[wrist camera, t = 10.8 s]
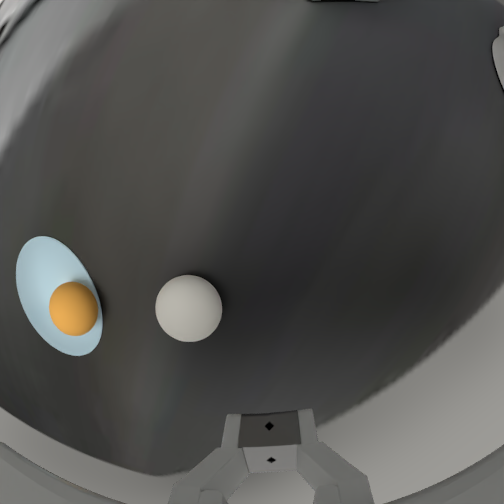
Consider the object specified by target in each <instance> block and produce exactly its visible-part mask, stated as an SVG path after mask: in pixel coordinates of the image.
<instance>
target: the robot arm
mask: <svg viewBox="0 0 504 504" xmlns="http://www.w3.org/2000/svg"><path fill="white" fill-rule="evenodd" d="M492 51H493V58H494V62H495V66H496V70H497V73H498V76H499V78H500V81H501V84H502V86H503V89H504V26H503V27H500V28H499V37H498V38H496V39H495V40H494V42H493V46H492ZM293 470H297V472H298V473H299V474H300V475H301V476H302V477H303V478H304V479H305V481H306V482H307V483H308V484H309V485H310V486H311V487H312V488H313V489H314V490H315V496H314V502H313V504H374V501H373V497H372V493H371V489H370V485H369V482H368V478H367V476H366V475H364V474H363V473H362V472H360V471H359V470H358V469H357V468H355V467H354V466H352V465H351V464H350V463H349V462H347V461H346V460H345V459H343V458H342V457H341V456H340V455H338V454H337V453H336V452H335V451H333V450H332V449H331V448H330V447H328V446H327V445H326V444H325V443H323V442H318V438H317V432H316V426H315V420H314V415H313V410H312V409H304V410H298V411H297V410H294V411H285V412H274V413H261V414H228V415H227V417H226V422H225V428H224V434H223V440H222V445H221V448H216V449H215V450H214V451H213V452H212V453H211V454H209V455H208V456H207V457H206V458H205V459H204V460H203V461H201V462H200V463H199V464H198V465H197V466H196V467H194V468H193V469H192V470H191V471H190V472H188V473H187V474H186V475H185V476H184V477H183V478H181V479H180V480H179V481H177V482H176V483H175V484H174V485H173V488H172V492H171V495H170V498H169V502H168V504H228V503H227V500H228V499H229V498H230V497H231V495H232V494H233V493H234V492H235V491H236V490H237V489H238V487H239V486H240V485H241V483H243V481H244V480H245V479H246V478H247V476H248V475H249V473H258V472H275V471H293ZM0 504H125V503H122V502H119V501H116V500H113V499H110V498H107V497H104V496H102V495H99V494H97V493H94V492H92V491H89V490H87V489H84V488H82V487H80V486H78V485H75V484H73V483H71V482H69V481H67V480H64V479H63V478H61V477H59V476H57V475H55V474H53V473H51V472H49V471H47V470H45V469H44V468H42V467H40V466H38V465H37V464H35V463H33V462H32V461H30V460H28V459H27V458H25V457H23V456H22V455H20V454H19V453H17V452H16V451H14V450H13V449H12V448H10V447H9V446H7V445H6V444H4V443H2V442H0ZM384 504H504V445H502V446H501V447H499V448H498V449H497V450H495V451H494V452H492V453H491V454H489V455H488V456H486V457H484V458H483V459H481V460H480V461H478V462H476V463H475V464H473V465H471V466H470V467H468V468H466V469H464V470H463V471H461V472H459V473H457V474H455V475H453V476H451V477H449V478H447V479H445V480H443V481H441V482H439V483H437V484H435V485H432V486H430V487H428V488H425V489H423V490H421V491H418V492H416V493H413V494H411V495H408V496H405V497H402V498H400V499H397V500H394V501H391V502H388V503H384Z"/></svg>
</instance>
